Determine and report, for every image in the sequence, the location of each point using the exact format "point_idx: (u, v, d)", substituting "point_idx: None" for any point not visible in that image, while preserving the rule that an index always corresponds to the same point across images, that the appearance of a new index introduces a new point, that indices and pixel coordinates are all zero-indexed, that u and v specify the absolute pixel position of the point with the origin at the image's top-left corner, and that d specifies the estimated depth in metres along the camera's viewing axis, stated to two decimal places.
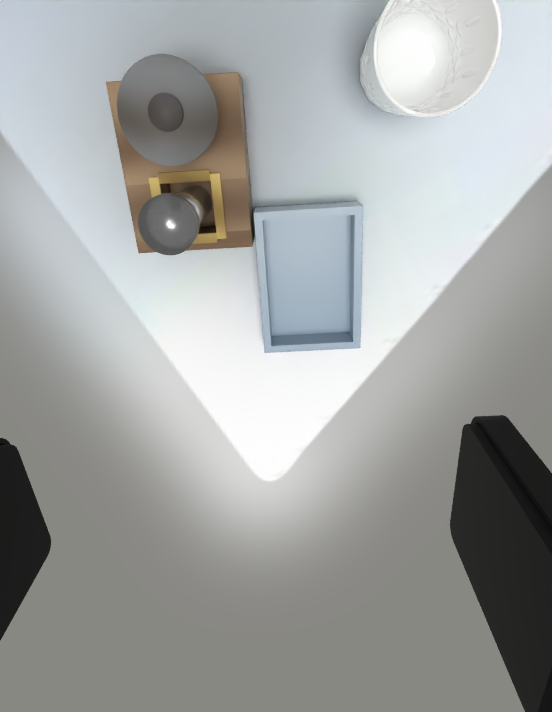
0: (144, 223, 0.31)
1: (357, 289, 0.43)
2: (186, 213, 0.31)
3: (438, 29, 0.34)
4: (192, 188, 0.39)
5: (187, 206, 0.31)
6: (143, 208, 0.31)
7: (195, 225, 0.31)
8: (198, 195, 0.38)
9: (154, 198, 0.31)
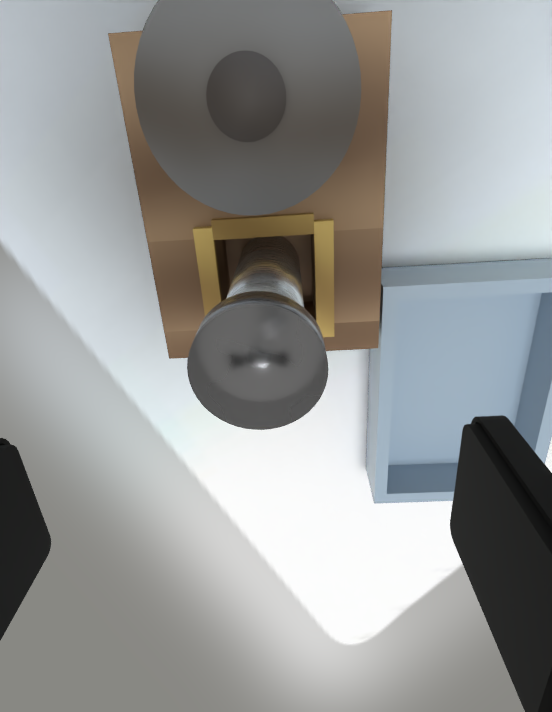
0: (202, 366, 0.13)
1: (550, 412, 0.24)
2: (306, 346, 0.13)
3: None
4: (272, 244, 0.21)
5: (310, 331, 0.13)
6: (202, 335, 0.13)
7: (325, 371, 0.13)
8: (290, 263, 0.19)
9: (230, 313, 0.12)
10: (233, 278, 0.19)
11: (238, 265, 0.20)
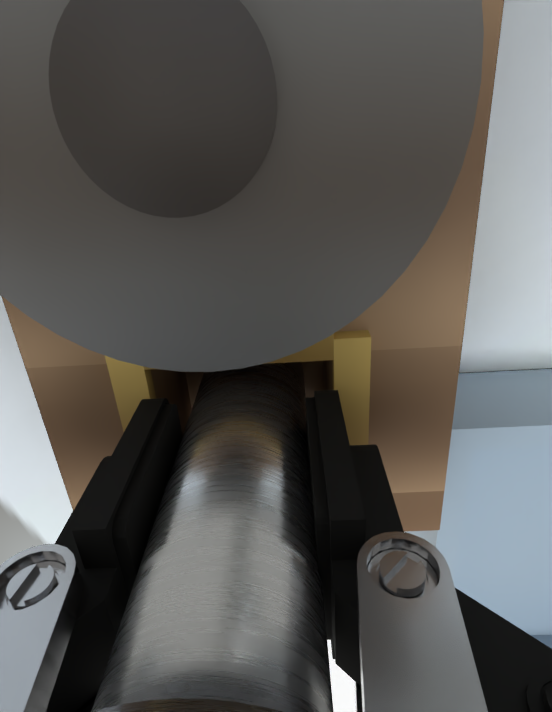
0: None
1: None
2: None
3: None
4: None
5: None
6: None
7: None
8: (288, 414, 0.10)
9: None
10: (178, 452, 0.10)
11: (193, 409, 0.11)
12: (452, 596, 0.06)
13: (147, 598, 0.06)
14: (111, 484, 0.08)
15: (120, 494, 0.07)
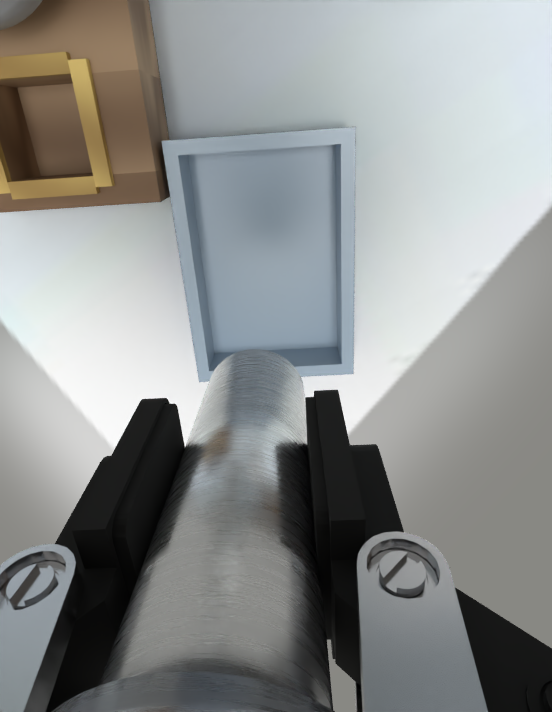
0: None
1: (347, 277, 0.25)
2: None
3: None
4: (259, 378, 0.12)
5: None
6: None
7: None
8: (289, 425, 0.10)
9: None
10: (181, 460, 0.10)
11: (196, 421, 0.11)
12: (452, 596, 0.06)
13: (150, 591, 0.06)
14: (111, 484, 0.08)
15: (120, 494, 0.07)
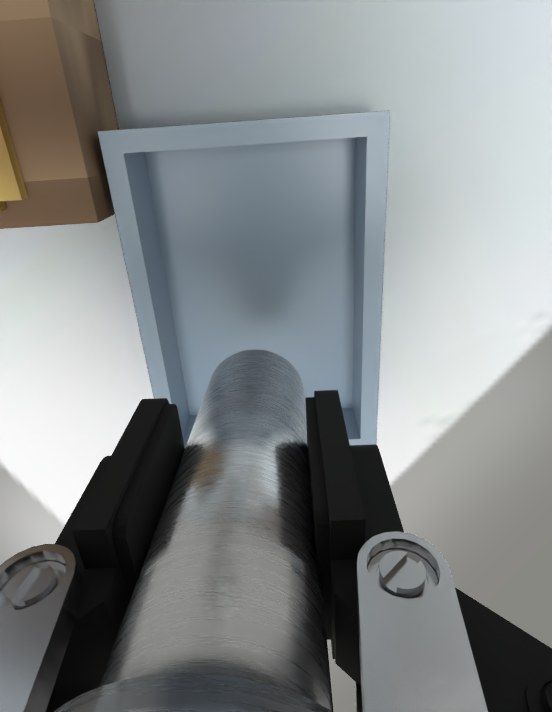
0: None
1: (371, 326, 0.18)
2: None
3: None
4: (259, 379, 0.12)
5: None
6: None
7: None
8: (289, 425, 0.10)
9: None
10: (181, 461, 0.10)
11: (196, 422, 0.11)
12: (452, 596, 0.06)
13: (150, 592, 0.06)
14: (111, 484, 0.08)
15: (120, 494, 0.07)
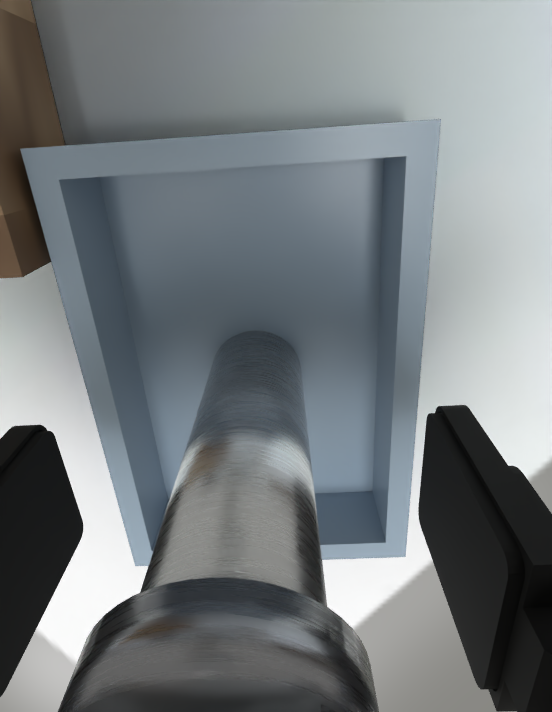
0: None
1: (404, 408, 0.13)
2: None
3: None
4: (260, 357, 0.13)
5: None
6: None
7: None
8: (289, 397, 0.12)
9: (138, 696, 0.05)
10: (193, 429, 0.11)
11: (204, 395, 0.12)
12: None
13: (176, 530, 0.07)
14: None
15: None
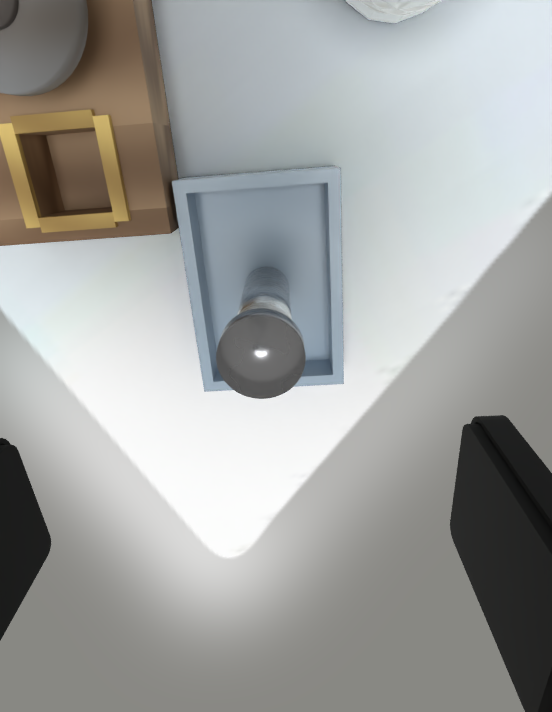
0: (226, 356, 0.21)
1: (336, 297, 0.28)
2: (291, 342, 0.20)
3: None
4: (269, 275, 0.28)
5: (293, 332, 0.20)
6: (225, 336, 0.20)
7: (303, 358, 0.21)
8: (281, 288, 0.27)
9: (243, 322, 0.20)
10: (241, 300, 0.26)
11: (244, 290, 0.27)
12: None
13: None
14: None
15: None
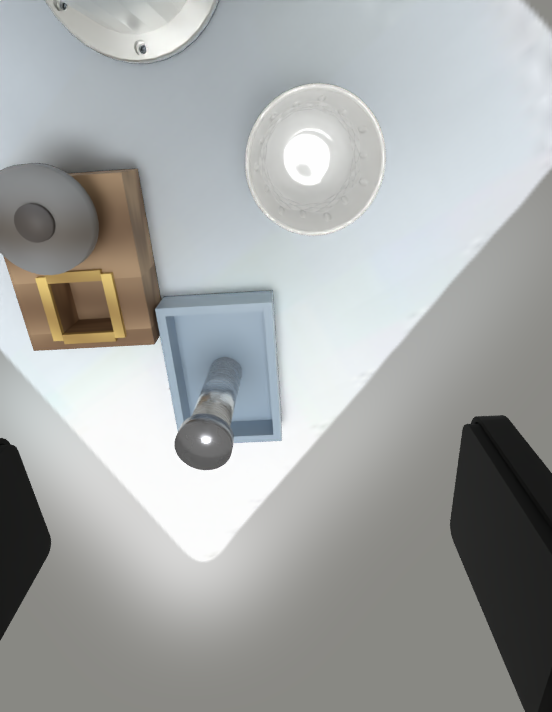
0: (181, 445, 0.32)
1: (273, 383, 0.40)
2: (221, 437, 0.32)
3: (338, 125, 0.32)
4: (223, 368, 0.40)
5: (222, 432, 0.31)
6: (180, 433, 0.32)
7: (230, 447, 0.32)
8: (230, 381, 0.38)
9: (190, 426, 0.31)
10: (201, 390, 0.38)
11: (205, 381, 0.39)
12: None
13: (196, 410, 0.34)
14: None
15: None
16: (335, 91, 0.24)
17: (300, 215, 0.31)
